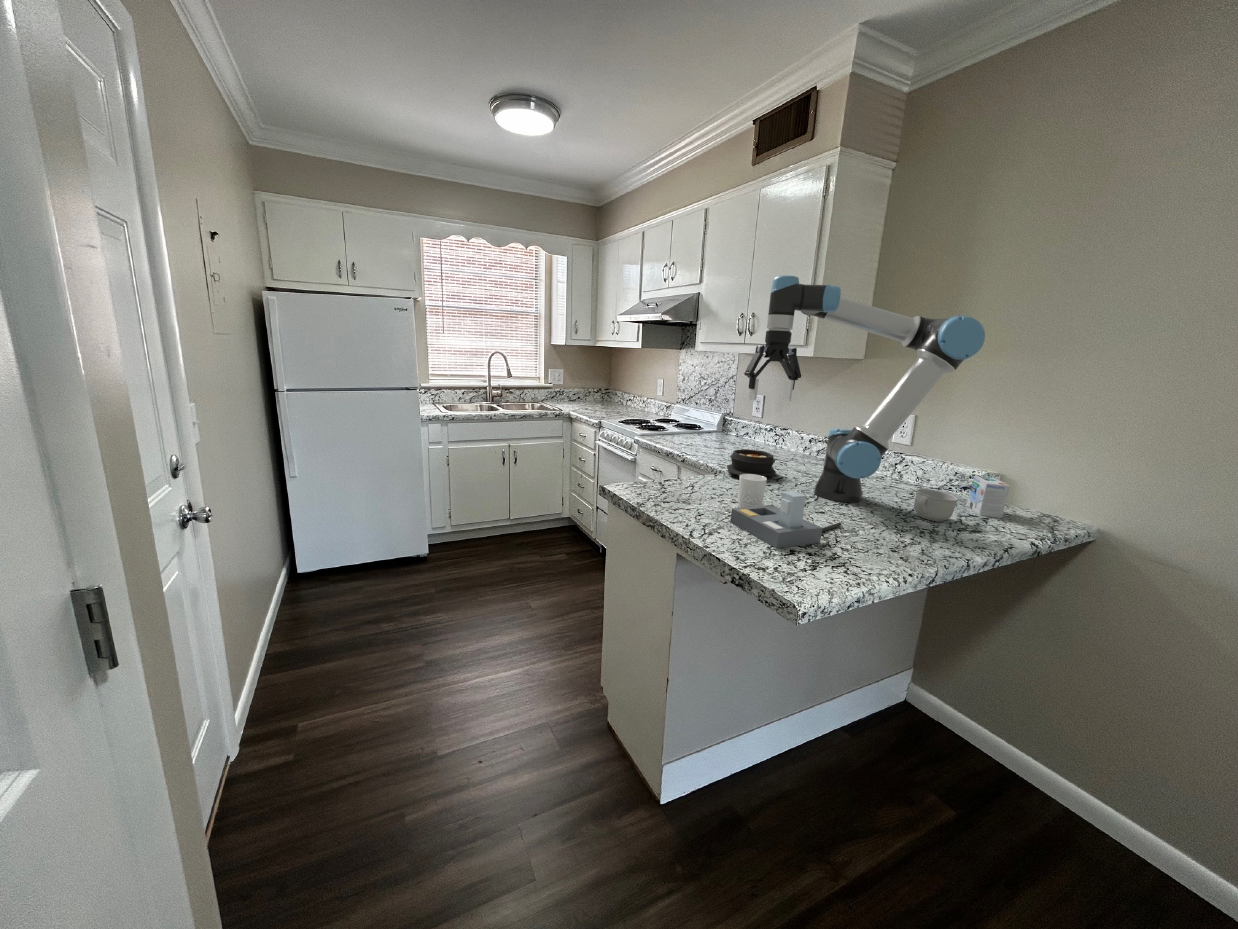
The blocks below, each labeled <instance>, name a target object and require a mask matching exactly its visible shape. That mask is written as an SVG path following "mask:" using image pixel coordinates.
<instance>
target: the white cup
mask: <svg viewBox="0 0 1238 929" xmlns="http://www.w3.org/2000/svg"><path fill="white" fill-rule="evenodd" d="M738 480H739V482H738V494H737V495H738V496H737V499H738V504H737V508H742V507H753V506H763V502H764V497H765V492H766V486H767V481H768V479H767V476H766V477H763V476H760V475H755V474H742V475H740V476H739V479H738Z"/></svg>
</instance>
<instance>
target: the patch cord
mask: <svg viewBox="0 0 1238 929" xmlns="http://www.w3.org/2000/svg"><path fill="white" fill-rule="evenodd" d="M841 526H842V522H839V521H838V522H836V523H832V524H830V525H826V526H824V527H822V533H823V532H824V533H825V532H826V531H829V530H832V529H835V528H839V527H841Z"/></svg>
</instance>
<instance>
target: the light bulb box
mask: <svg viewBox="0 0 1238 929" xmlns="http://www.w3.org/2000/svg"><path fill="white" fill-rule="evenodd" d="M1010 488H1011V485H1010V484H1007V483H1006V482H1004V481H1001V480H1000V479H998V478H996V477H988V476H987V477H986V476H977V475H973V478H972V483H971V486H970V490H969V491H970V492H969V495H968V500H967V505H966V506H967V508H968V509H970V510H971V511H973V512H974V513H975V514H976V515H978V516H980V515H981V517H988V516H990V517H989V518H998V519H1003V515H1004V512H1005V508H1006V505H1007V504H1006V503H1007V500H1008V495H1009V492H1010Z"/></svg>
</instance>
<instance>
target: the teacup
mask: <svg viewBox="0 0 1238 929" xmlns="http://www.w3.org/2000/svg"><path fill="white" fill-rule="evenodd" d="M958 501H959V499H958V497H956V496H955V495H952V494H951V493H947V492H944V491H941V490H937V489H936V490H935V489H931V488H930V489H929V488H917V490H916V495H915V497H914V503H913V509H914V511H915V512H916V513H917V515H918V517H921V518H923V519H925V520H927V521H931V522H941V523H942V522H943V521H946V520H949V519H950V518H951V517H952V516H953V514H954V512H955V509H956V507H957V506H956V505H957V502H958Z"/></svg>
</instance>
